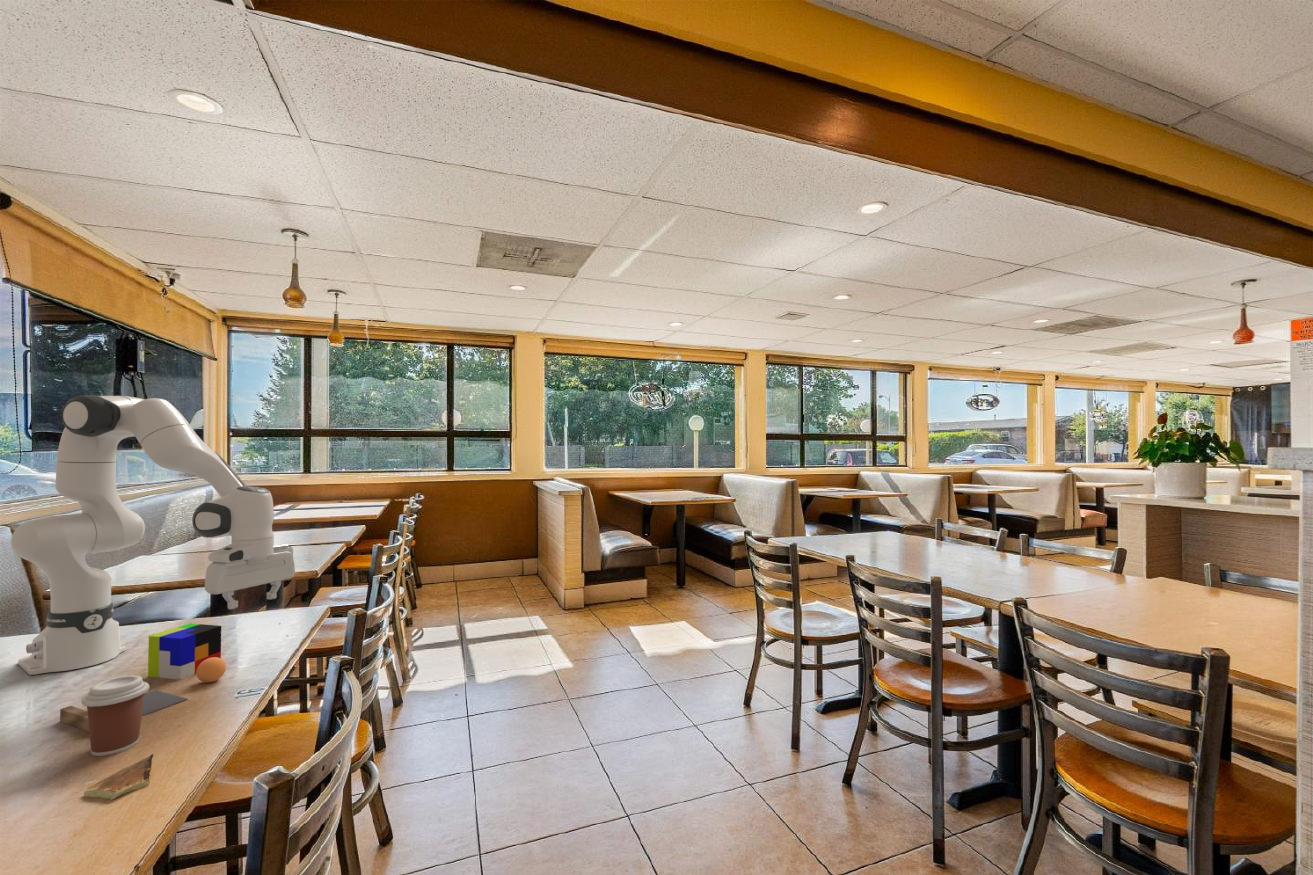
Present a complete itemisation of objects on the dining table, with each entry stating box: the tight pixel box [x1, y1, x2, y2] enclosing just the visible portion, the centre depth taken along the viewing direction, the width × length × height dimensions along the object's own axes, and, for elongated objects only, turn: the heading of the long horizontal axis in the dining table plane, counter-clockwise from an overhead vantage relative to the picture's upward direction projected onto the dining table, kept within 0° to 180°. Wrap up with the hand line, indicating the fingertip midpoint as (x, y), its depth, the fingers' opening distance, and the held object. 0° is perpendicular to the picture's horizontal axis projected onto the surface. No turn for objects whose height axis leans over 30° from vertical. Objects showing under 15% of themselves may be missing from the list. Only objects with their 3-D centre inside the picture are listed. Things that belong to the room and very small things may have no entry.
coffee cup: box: [81, 674, 150, 757], centre depth 104 cm, size 9×9×12 cm
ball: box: [195, 657, 227, 683], centre depth 133 cm, size 6×6×6 cm
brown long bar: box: [59, 705, 89, 732], centre depth 112 cm, size 14×2×2 cm, turn 68°
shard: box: [83, 753, 154, 800], centre depth 94 cm, size 11×8×2 cm
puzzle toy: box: [147, 623, 222, 680], centre depth 140 cm, size 10×10×10 cm
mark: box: [142, 689, 189, 717], centre depth 120 cm, size 12×12×1 cm
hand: (252, 603), depth 142 cm, fingers open, 8 cm apart
